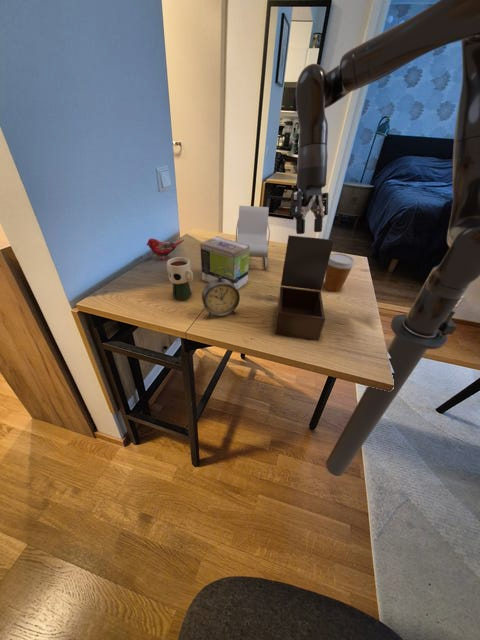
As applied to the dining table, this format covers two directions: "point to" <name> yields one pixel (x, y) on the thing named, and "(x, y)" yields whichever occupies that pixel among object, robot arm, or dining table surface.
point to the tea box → (225, 260)
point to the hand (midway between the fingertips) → (309, 232)
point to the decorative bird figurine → (162, 247)
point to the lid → (306, 262)
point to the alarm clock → (220, 296)
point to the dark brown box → (299, 313)
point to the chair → (254, 230)
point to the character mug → (180, 277)
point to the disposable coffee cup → (337, 271)
